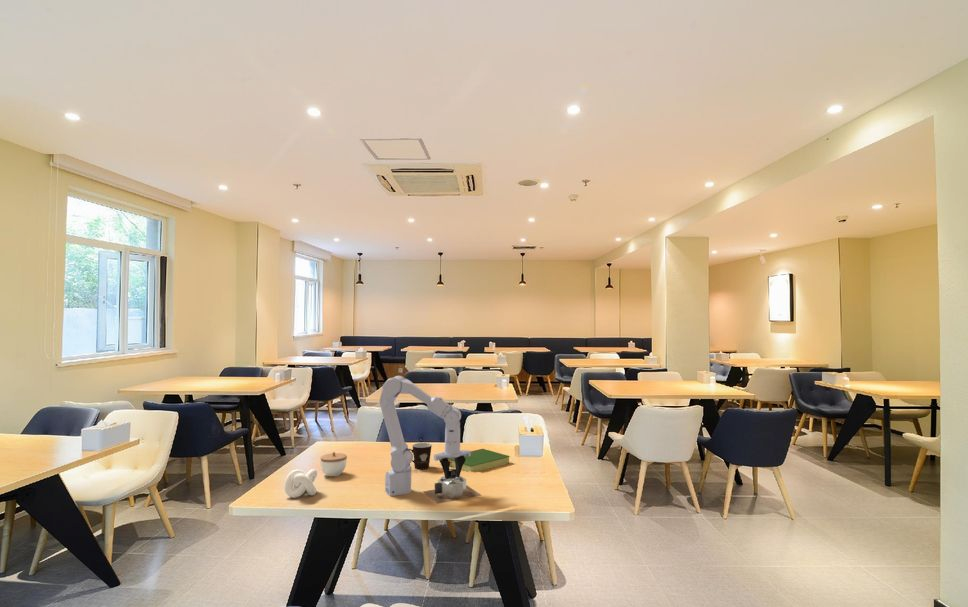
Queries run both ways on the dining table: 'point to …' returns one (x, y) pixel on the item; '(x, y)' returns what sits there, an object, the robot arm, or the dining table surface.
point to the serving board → (439, 499)
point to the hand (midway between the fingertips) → (452, 477)
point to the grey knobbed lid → (452, 477)
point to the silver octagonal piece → (451, 488)
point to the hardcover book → (482, 460)
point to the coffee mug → (421, 455)
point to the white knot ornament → (300, 483)
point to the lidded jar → (333, 463)
